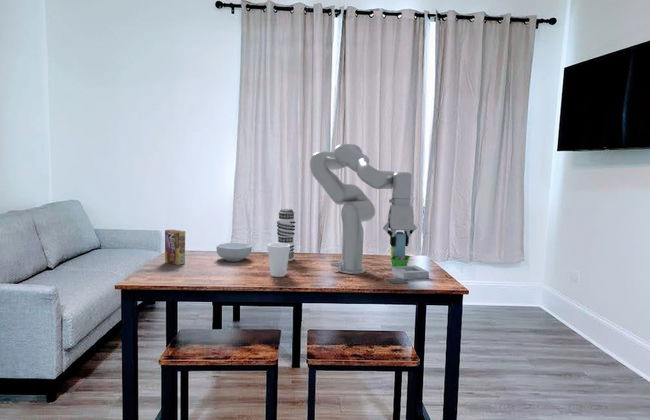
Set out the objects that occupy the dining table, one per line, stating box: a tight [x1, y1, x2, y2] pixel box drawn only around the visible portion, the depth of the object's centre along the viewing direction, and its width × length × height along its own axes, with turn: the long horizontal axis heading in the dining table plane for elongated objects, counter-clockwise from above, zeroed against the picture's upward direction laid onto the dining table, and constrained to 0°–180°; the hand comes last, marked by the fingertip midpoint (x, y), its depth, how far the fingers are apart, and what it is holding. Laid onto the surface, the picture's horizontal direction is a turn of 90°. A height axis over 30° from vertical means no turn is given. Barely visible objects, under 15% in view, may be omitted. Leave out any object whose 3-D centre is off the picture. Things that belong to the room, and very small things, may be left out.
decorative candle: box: [276, 208, 296, 262], centre depth 216 cm, size 9×9×25 cm
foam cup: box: [267, 242, 290, 278], centre depth 186 cm, size 10×9×13 cm
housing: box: [391, 265, 430, 281], centre depth 193 cm, size 12×12×3 cm
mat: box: [385, 277, 409, 285], centre depth 183 cm, size 7×7×1 cm
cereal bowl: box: [216, 242, 252, 262], centre depth 212 cm, size 17×17×7 cm
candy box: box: [164, 228, 186, 266], centre depth 200 cm, size 9×4×15 cm, turn 63°
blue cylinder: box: [393, 231, 406, 256], centre depth 181 cm, size 5×5×10 cm
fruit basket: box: [390, 245, 411, 267], centre depth 207 cm, size 11×9×11 cm
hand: (399, 245), depth 181 cm, fingers closed on blue cylinder, 5 cm apart
